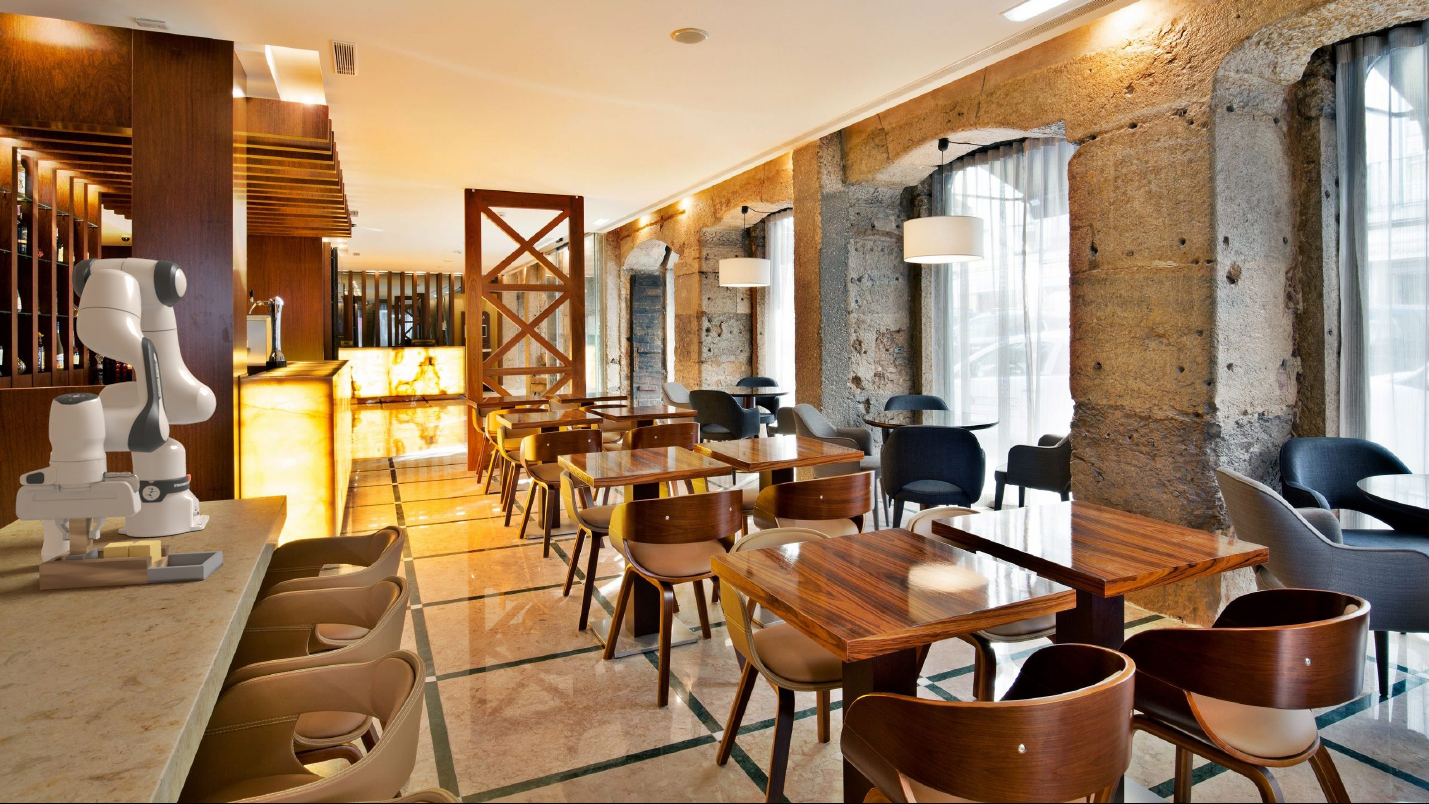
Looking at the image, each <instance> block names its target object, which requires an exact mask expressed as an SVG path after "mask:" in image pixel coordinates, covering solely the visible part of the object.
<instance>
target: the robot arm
mask: <svg viewBox="0 0 1429 804" xmlns="http://www.w3.org/2000/svg"><path fill="white" fill-rule="evenodd" d="M71 272H72V273H71V284H72V287H73V290H74V292H75V294H76V295H77V296H78V297H79V298H80V301H79V305H78V311H77V316H76V317H77V319H76V333H77V337H78V339H79V340H80V342H81V343H82V344H83V345H84V346H86V347H87V348H88V349H89V350H91V351H93V352H94V353H96V354H99V355H100V356H103V357H106V358H108V359H111V360H115V361H118V362H121V363H123V364H126V365H129V366H131V367H132V368H133V369H134V371H135V379H136V381H125V382H118V383H113V384H108V385H105V387H103V389H102V390H100V392H99V394H94V393H90V392H73V393H65V394H62V395H59V396H57V397H55V398H53V399H52V402H51V405H50V411H49V420H48V421H49V422H48V439H49V442H50V444H51V448H52V449H51V452H52V454H51V453H50V455H51V456H49V457H50V458H49V462H50V463H49V466H48V465H47V466H44V467H41V468H39V469H36V470H34V471H33V470H32V471H29V472H26V473H23V474H21V475H20V477H19V483H20V484H21V485H22V486H20V487H19V489H18V490H17V494H16V498H15V500H16V501H15V514H16V517H17V518H18V519H19V520H20V521H40V520H53V519H55V525H56V526H57V528H58V529H59V530H60V531H61V532H62V535H63V541H68V540H69V527H68V526H67V524H66V523H67V522H69V519H78V518H92V524H95V525H94V527H93V528H92V529H93V530H90V531H88V532H87V535H88V540H91V539H93V540H98V539H100V538H101V529H102V528H103V526H105V525H104V524H105V523H106V521H107V519H109V518H124V526H123V527H120V528H118V530H117V533H118V534H121V535H122V534H123V535H127V536H129V537H136V538H139V537H140V538H144V537H145V538H147V537H148V538H151V537H152V538H153V537H163V536H164V537H165V536H171V535H172V536H173V535H177V534H178V535H179V534H182V533H183V534H184V533H188V532H194V531H200V530H201V531H202V530H203V529H205V527H206V525H207V524H208V522H209V520H210V515H209V514H207V515H206V514H200V500H199V498H197V497H196V495H194V493H193V492H192V491H191V490H190V488H191V487H190V482H191V478H192V476H191V474H190V473H189V474H187V467H186V466H187V464H186V463H187V461H186V460H187V459H186V457H187V456H186V449H185V447H184V445H183V443H181V442H179V440H176V439H175V438H172V437H170V436H169V435H170V425H189V424H196V423H202V422H205V421H208V420H209V419H210V418H211V417H212V416H213V415H214V413H215V411H216V407H217V399H216V396H215V394H214V392H213V391H212V389H211V388H210V387H209V386H208V385H205V384H204V383H203V382H201V381H200V380H198V379H197V378H196V377H195V376H194V375H193V374H192V372H190V370H189V368H187V366H186V364H185V362H184V360H183V357H182V354H181V349H180V344H179V336H178V327H177V320H176V315H175V310H174V305H175V304H178V303H180V301H182V299H183V298H184V297H185V295H186V292H187V291H186V290H187V285H188V284H187V278H186V275H185V272H184V270H183V269H182V267H181V266H180V265H179V264H177V263H176V262H173V261H170V260H163V259H159V260H156V259H149V258H148V259H145V258H137V257H127V258H104V259H103V258H102V259H100V258H96V257H95V258H88V259H82V260H80V261H79V262H77V264H75V266H74V267H73V269H72V271H71ZM108 452H111V453H112V452H130V453H131V460H132V461H131V462H132V472H131V471H130V472H129V471H124V472H116V471H115V472H114V471H111V472H110V471H109V472H108V469H107V466H108V465H107V453H108Z"/></svg>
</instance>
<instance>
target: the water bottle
mask: <svg viewBox="0 0 1429 804" xmlns="http://www.w3.org/2000/svg"><path fill="white" fill-rule="evenodd" d="M51 454H52V451H51V452H50V456H49V457H51ZM48 463H49V464H50V461H49V462H48ZM39 521H40V522H41V523H40V524H41V526H42V529H43V545H42V548H41V550H40V556H41V561H42V563H44V562H46V561H48V560H50V559H52V558H54V557H56V556H58V555H60V554H62V553H64V552H66V551H68V550H70V542H69V540H68V541H63V535H62V532H61V531H60V530H59V529H58V528H57V526H56V525H55V519H53V520H39ZM66 524H67V526H68V527H69V522H67V523H66Z"/></svg>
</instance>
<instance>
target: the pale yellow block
mask: <svg viewBox="0 0 1429 804" xmlns="http://www.w3.org/2000/svg"><path fill="white" fill-rule="evenodd" d="M133 543H134V541H120V542H117V541H116V542H109V543H108V544H107V545H105V546H103V547H102V548H103V550H104V558H124V557H129V545H131V544H133Z"/></svg>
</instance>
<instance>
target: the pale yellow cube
mask: <svg viewBox="0 0 1429 804" xmlns="http://www.w3.org/2000/svg"><path fill="white" fill-rule="evenodd" d="M161 545H162V541H161V539H160V540H159V539H158V540H156V539H155V540H139V541H136V542H133V544H131V545H129V557H144V556H152V563H153V562H156V561H158V560H160V559H161Z"/></svg>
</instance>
